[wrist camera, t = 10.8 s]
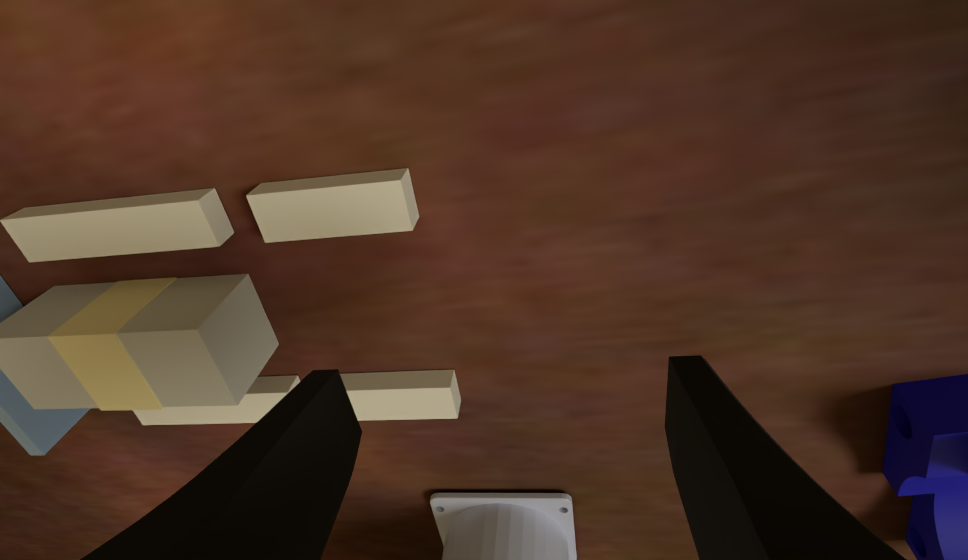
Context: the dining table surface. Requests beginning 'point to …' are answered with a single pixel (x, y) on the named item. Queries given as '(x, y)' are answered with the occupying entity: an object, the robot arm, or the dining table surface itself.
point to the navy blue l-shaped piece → (931, 463)
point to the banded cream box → (138, 344)
